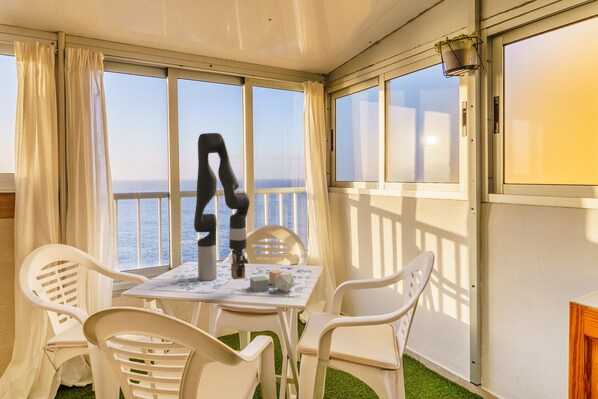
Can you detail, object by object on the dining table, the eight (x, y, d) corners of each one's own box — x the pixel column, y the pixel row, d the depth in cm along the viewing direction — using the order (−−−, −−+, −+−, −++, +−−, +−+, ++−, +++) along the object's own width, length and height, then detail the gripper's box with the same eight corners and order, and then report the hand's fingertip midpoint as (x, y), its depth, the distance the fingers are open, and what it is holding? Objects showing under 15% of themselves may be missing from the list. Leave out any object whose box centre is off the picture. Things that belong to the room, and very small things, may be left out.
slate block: (250, 287, 174) (250, 277, 173) (264, 286, 176) (264, 275, 176) (254, 292, 167) (254, 281, 167) (269, 290, 170) (268, 279, 170)
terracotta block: (269, 283, 180) (269, 271, 180) (277, 281, 184) (277, 269, 183) (275, 285, 177) (275, 273, 176) (283, 283, 180) (283, 271, 180)
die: (276, 295, 164) (290, 278, 162) (267, 282, 170) (280, 265, 168) (289, 298, 170) (302, 281, 168) (279, 284, 176) (292, 268, 174)
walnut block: (231, 276, 167) (231, 263, 166) (242, 275, 169) (242, 262, 168) (233, 279, 162) (233, 266, 162) (244, 278, 164) (244, 265, 163)
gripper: (226, 235, 169) (226, 271, 170) (233, 241, 156) (233, 280, 157) (242, 234, 172) (242, 270, 173) (250, 240, 159) (250, 278, 160)
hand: (238, 275), depth 165 cm, fingers closed on walnut block, 5 cm apart
